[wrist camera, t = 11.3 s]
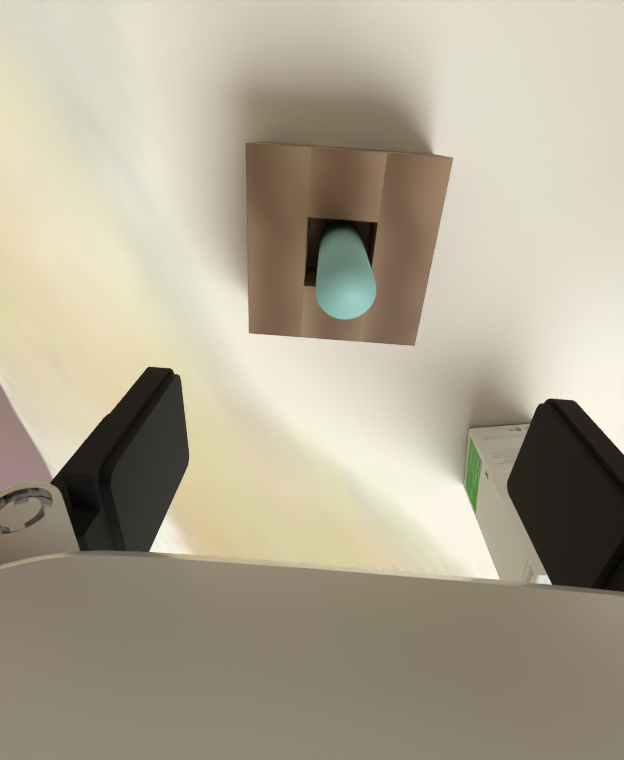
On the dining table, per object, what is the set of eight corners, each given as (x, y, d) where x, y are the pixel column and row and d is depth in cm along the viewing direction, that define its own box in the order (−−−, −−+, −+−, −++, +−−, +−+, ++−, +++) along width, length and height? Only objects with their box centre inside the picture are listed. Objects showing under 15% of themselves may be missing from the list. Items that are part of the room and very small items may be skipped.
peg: (363, 220, 30) (380, 262, 20) (358, 261, 32) (371, 321, 21) (321, 217, 30) (317, 258, 20) (318, 258, 32) (313, 317, 21)
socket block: (433, 154, 29) (453, 157, 24) (403, 317, 35) (414, 345, 30) (260, 141, 29) (245, 143, 24) (260, 306, 35) (249, 333, 30)
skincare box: (467, 425, 40) (535, 570, 27) (539, 420, 39) (645, 567, 26) (462, 488, 44) (518, 642, 31) (527, 485, 44) (613, 641, 30)
